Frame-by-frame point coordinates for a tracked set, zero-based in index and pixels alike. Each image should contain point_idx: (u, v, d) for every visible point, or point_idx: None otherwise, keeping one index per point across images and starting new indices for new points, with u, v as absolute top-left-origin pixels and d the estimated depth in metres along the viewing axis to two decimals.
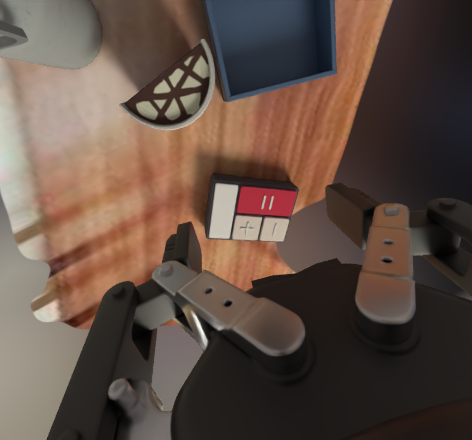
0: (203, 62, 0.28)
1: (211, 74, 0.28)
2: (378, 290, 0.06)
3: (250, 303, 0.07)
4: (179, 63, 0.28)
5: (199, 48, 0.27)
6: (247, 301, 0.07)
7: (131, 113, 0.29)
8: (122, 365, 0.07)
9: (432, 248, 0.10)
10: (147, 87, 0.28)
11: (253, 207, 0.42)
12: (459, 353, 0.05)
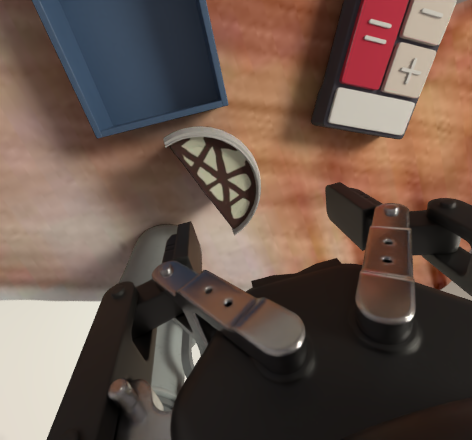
0: (188, 143, 0.23)
1: (200, 134, 0.22)
2: (378, 290, 0.06)
3: (251, 303, 0.07)
4: (192, 171, 0.24)
5: (174, 147, 0.23)
6: (247, 301, 0.07)
7: (243, 224, 0.27)
8: (122, 365, 0.07)
9: (432, 248, 0.10)
10: (217, 206, 0.26)
11: (378, 59, 0.27)
12: (459, 353, 0.05)
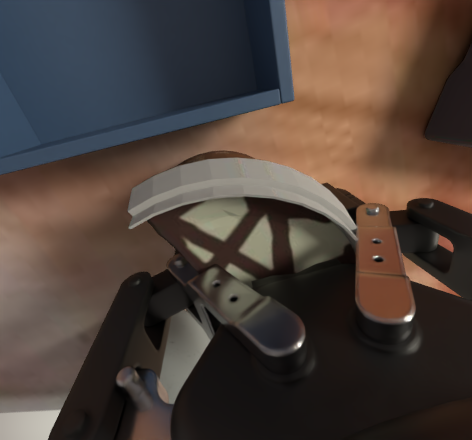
0: (200, 211, 0.08)
1: (238, 186, 0.07)
2: (378, 290, 0.06)
3: (256, 300, 0.07)
4: None
5: (159, 221, 0.08)
6: (247, 301, 0.07)
7: None
8: (132, 353, 0.07)
9: (411, 247, 0.10)
10: None
11: None
12: (466, 356, 0.05)
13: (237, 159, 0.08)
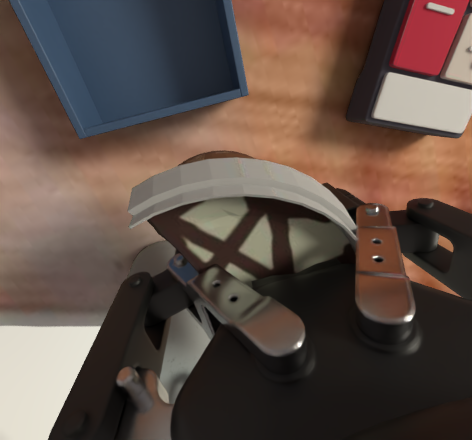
0: (200, 210, 0.08)
1: (238, 185, 0.07)
2: (378, 290, 0.06)
3: (256, 300, 0.07)
4: None
5: (159, 221, 0.08)
6: (247, 301, 0.07)
7: None
8: (132, 353, 0.07)
9: (411, 246, 0.10)
10: None
11: (441, 34, 0.21)
12: (466, 356, 0.05)
13: (237, 159, 0.08)
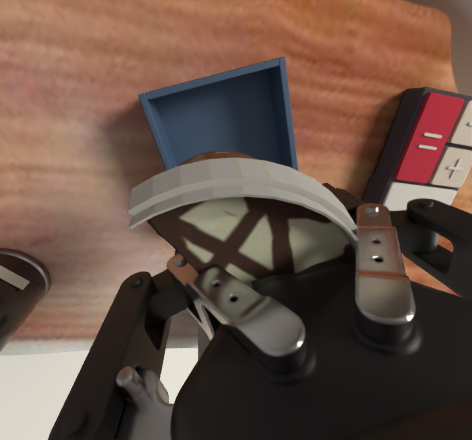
0: (200, 211, 0.08)
1: (238, 186, 0.07)
2: (378, 290, 0.06)
3: (256, 300, 0.07)
4: None
5: (159, 221, 0.08)
6: (247, 301, 0.07)
7: None
8: (132, 353, 0.07)
9: (411, 247, 0.10)
10: None
11: (428, 160, 0.31)
12: (466, 356, 0.05)
13: (237, 159, 0.08)
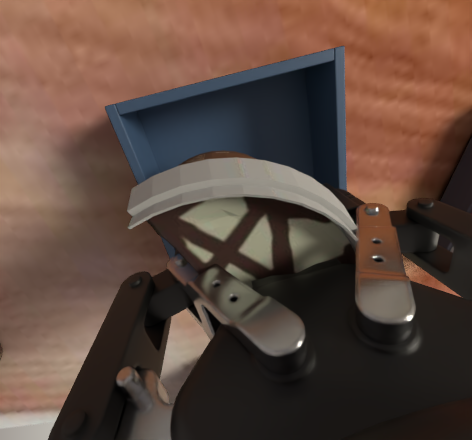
0: (200, 211, 0.08)
1: (237, 186, 0.07)
2: (378, 290, 0.06)
3: (256, 300, 0.07)
4: None
5: (159, 221, 0.08)
6: (247, 301, 0.07)
7: None
8: (132, 353, 0.07)
9: (411, 247, 0.10)
10: None
11: None
12: (466, 356, 0.05)
13: (237, 159, 0.08)
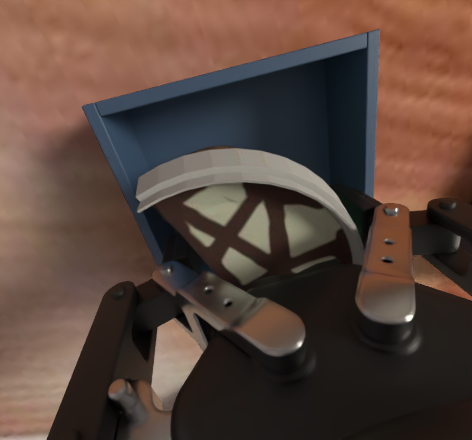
0: (202, 197, 0.08)
1: (237, 173, 0.08)
2: (378, 290, 0.06)
3: (251, 303, 0.07)
4: (209, 258, 0.10)
5: (164, 207, 0.09)
6: (247, 301, 0.07)
7: None
8: (122, 365, 0.07)
9: (432, 248, 0.10)
10: None
11: None
12: (459, 353, 0.05)
13: (236, 149, 0.09)
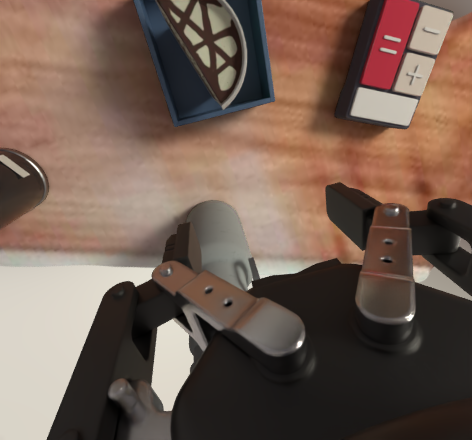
0: None
1: None
2: (378, 290, 0.06)
3: (251, 303, 0.07)
4: (178, 29, 0.25)
5: None
6: (247, 301, 0.07)
7: (230, 96, 0.27)
8: (122, 365, 0.07)
9: (432, 248, 0.10)
10: (204, 74, 0.27)
11: (390, 65, 0.34)
12: (459, 353, 0.05)
13: None
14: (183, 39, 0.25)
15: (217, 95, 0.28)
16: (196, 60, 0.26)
